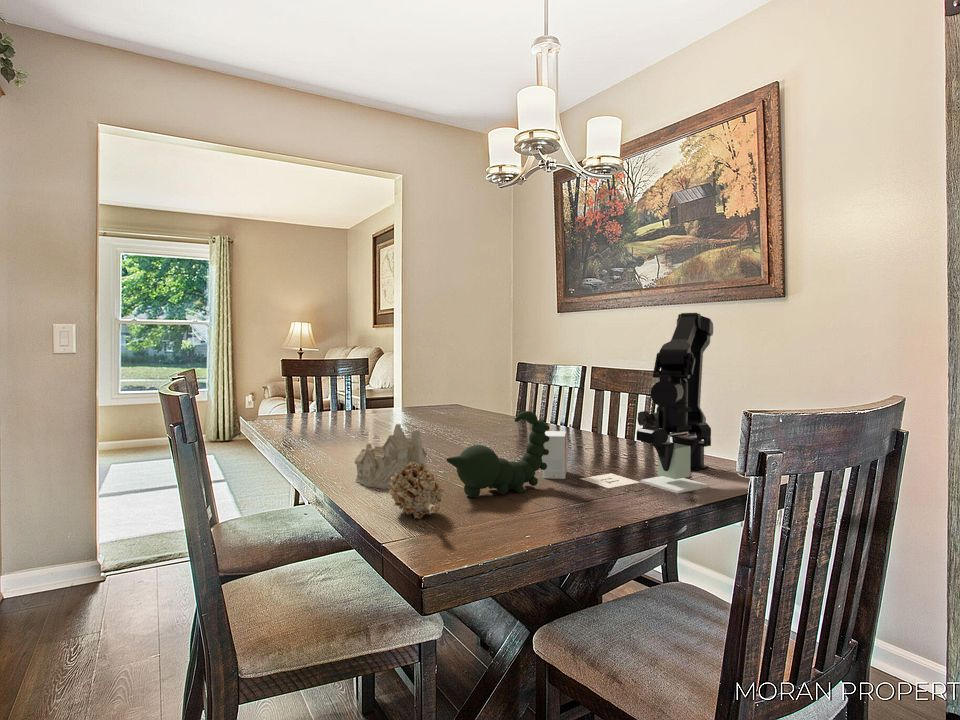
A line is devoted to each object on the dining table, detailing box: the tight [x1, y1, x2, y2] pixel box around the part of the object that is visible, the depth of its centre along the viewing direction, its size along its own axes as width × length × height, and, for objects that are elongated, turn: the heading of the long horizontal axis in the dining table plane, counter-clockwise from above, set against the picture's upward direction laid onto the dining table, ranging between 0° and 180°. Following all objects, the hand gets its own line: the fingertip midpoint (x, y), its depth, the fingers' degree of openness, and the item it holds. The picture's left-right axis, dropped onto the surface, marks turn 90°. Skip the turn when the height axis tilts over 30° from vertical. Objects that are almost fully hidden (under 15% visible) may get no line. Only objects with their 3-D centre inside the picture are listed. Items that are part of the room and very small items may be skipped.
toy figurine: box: [445, 410, 550, 499], centre depth 125 cm, size 9×19×25 cm
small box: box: [542, 430, 568, 480], centre depth 141 cm, size 8×6×10 cm
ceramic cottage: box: [354, 423, 431, 490], centre depth 137 cm, size 16×16×15 cm
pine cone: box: [387, 461, 444, 520], centre depth 107 cm, size 22×10×10 cm, turn 27°
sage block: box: [657, 443, 691, 479], centre depth 131 cm, size 5×5×7 cm
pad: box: [640, 475, 709, 494], centre depth 131 cm, size 10×11×1 cm
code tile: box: [579, 472, 641, 489], centre depth 135 cm, size 10×10×1 cm
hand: (673, 469), depth 131 cm, fingers closed on sage block, 5 cm apart
